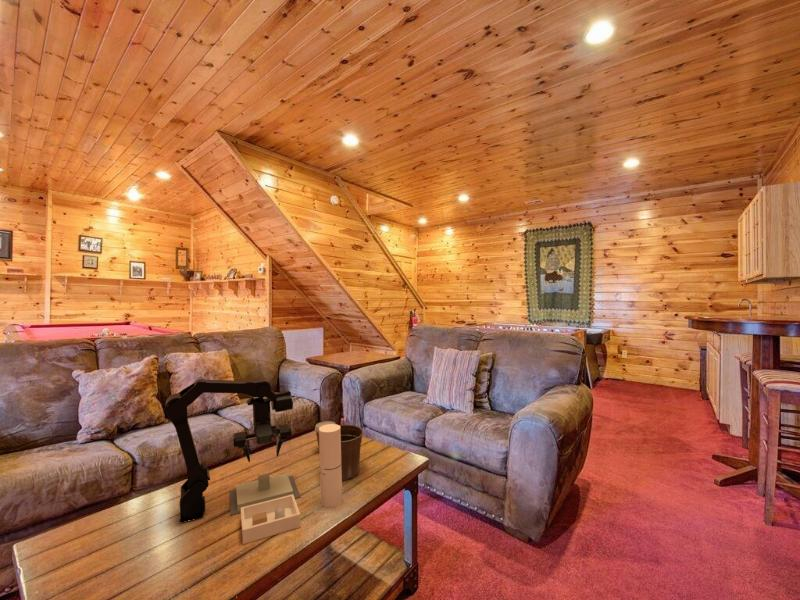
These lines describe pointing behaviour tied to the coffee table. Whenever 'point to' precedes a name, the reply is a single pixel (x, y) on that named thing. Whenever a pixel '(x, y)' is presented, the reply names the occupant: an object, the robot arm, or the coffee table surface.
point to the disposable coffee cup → (320, 426)
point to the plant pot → (350, 450)
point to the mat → (234, 497)
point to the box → (269, 518)
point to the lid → (263, 490)
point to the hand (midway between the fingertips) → (263, 458)
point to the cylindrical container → (330, 465)
